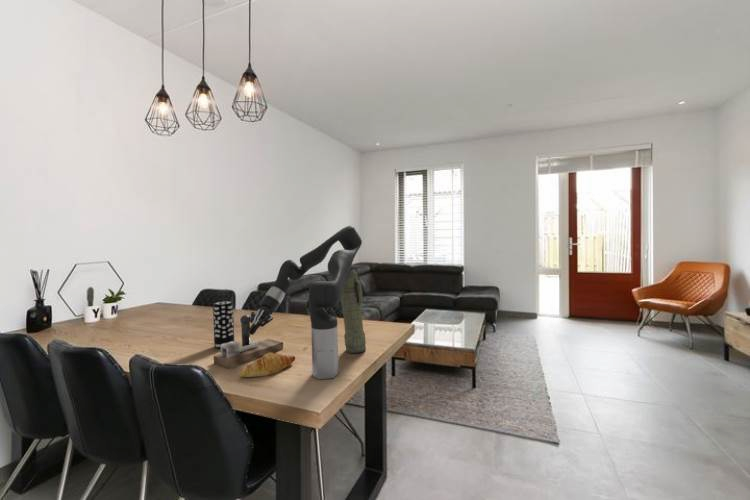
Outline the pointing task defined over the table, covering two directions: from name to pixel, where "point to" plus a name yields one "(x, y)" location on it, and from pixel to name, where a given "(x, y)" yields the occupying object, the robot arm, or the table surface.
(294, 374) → the table surface
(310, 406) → the table surface
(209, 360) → the table surface
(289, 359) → the croissant
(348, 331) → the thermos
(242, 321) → the bolt
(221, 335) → the spotted tube
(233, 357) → the door board
